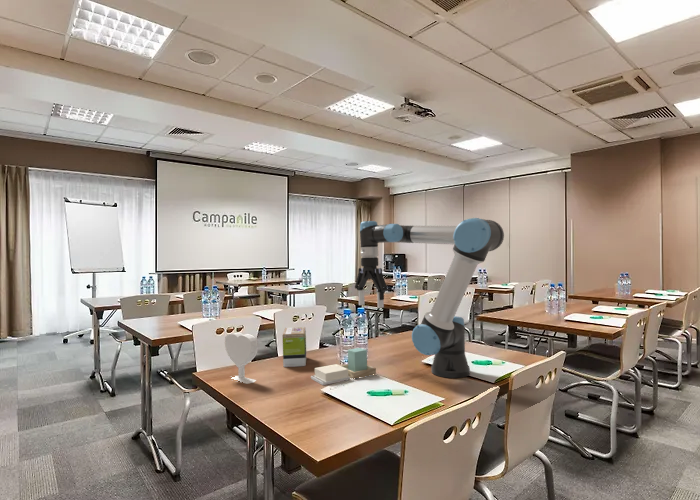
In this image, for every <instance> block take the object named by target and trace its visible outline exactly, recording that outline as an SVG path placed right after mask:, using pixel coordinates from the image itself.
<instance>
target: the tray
mask: <svg viewBox="0 0 700 500" xmlns="http://www.w3.org/2000/svg"><path fill="white" fill-rule="evenodd" d="M341 366H342V367H344V368H347V369H348V363H347V364H343V365H341ZM373 374H374V375H373ZM369 375H373V376H376V375H377V368H376V367H374V366H371V365H369V364H367V370H362V371H357V372H353V371H351V370H349V369H348V376H349V377H350V379H352V378H353V379H352V380H355V379H354V378H359V377H363V378H366V377H365V376H368V377H370V376H369ZM359 379H360V378H359Z"/></svg>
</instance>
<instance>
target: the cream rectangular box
mask: <svg viewBox="0 0 700 500" xmlns="http://www.w3.org/2000/svg"><path fill="white" fill-rule="evenodd" d="M310 379H311V380H312V381H314V382H316V383H318V384H320V385H321V386H327V385H331V384H336V383H340V381H341V382H345V381H344V380H346V381H349V380H348V379H350V380H351V378H350V377H349V376H348V369H347V368H344V367H342V365H340V364H337V363H335V364H330V365H329V364H328V365H325V366H319V367H314V374H313V375H310Z"/></svg>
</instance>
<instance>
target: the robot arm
mask: <svg viewBox="0 0 700 500" xmlns="http://www.w3.org/2000/svg"><path fill="white" fill-rule="evenodd" d="M503 229H504V228H502V226H501V225H500V224H499V223H498V222H496V221H495V220H491V219H484V218H479V217H473V218H467V219H464V220H462V221H461V222H460V223H458V224H457V225H404V224H403V225H402V224H401V225H400V223H388V224H379V225H378V222H377V221H375V220H366V221H365V220H363V221H361V222H360V226H359V235H360V239H359V240H360V257H361V258H360V265H361V267H359V268H358V271H357V272H358V274H357V278H356V281H355V285H354V289H355V290H357V297H358V306H365V303H366V302H365V285H366V284H367V282H368V280H369V279H370V280H372V281H373V283H374V286H375V287H376V289H377V292H376V300H377V301H376V302H377V309H383V308H384V307H385V305H384V304H385V302H384V300H385V292H386V291H388V287H387V284H386V281H385V277H384V275H383V269H382V268H381V267H380V268H378V266H379V258H378V256H379V244H380V243H381V244H382V243H383V244H384V243H403V244H405V243H406V244H411V243H412V244H428V245H429V244H433V245H434V244H435V245H452V246H453V247H452V251H453V254H454V256H453V258H452V261H451V264H450V265H449V267H448V270H447V273H446V274H445V277H444V279H443V281H442V284H441V286H440V289H439V291H438V293H437V296H436V298H435V301H434V303H433V305H432V307H431V309H430V311H429V312H426V313H424V316H423V318H422V321H421V323H420V324H417V325H415V327H414V328H413V330H412V332H411V341H412V344H413V346H414V348H415V349H416V350H417V351H418V352H419V353H420V354H421V355H422V354H423V355H424V356H432V355H434V357H433V360H432V364H431V368H430V369H431V371H430V372H431V373H432V374H433V375H434V376H437V377H440V378H449V379H460V378H466V377H468V376H470V375H469V374H471V369H470V365H469V364H468V360H467V359H468V358H467V357H466V350H465V349H466V345H465V344H466V343H465V337H466V336H465V335H466V333H465V332H466V331H465V328H466V326H465V320H464V317H462V316H456V314H457V312H458V310H459V307H460V305H461V303H462V301H463V298H464V296H465V294H466V291H467V290H468V287H469V285H470V283H471V281H472V278H473V276H474V275H475V274H474V273H475V272H476V269H477V267H478V265H479V264H481V263H484V262H485V261H486V258H487V256H488V253H489V252H493V251H495V250H497V249H498V248H500V247H501V246H502V244H503V241H504V238H505V233H504V230H503Z"/></svg>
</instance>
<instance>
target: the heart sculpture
mask: <svg viewBox="0 0 700 500" xmlns="http://www.w3.org/2000/svg"><path fill="white" fill-rule="evenodd" d="M258 347H259V339H257V337H256V336H255V335H252V334H250V333H245V334H244V333H242V332H235V333H230V334H227V335H226V336H225V337H224V348H225V351H226V354H227V356H228V358H229V359H230V360H231V362H232V363H233V364H234V365H235V366H236V367H237V368H238V370H237V371H238V372H237V373H238V375H234V376H235V377H232V376H231V377H232V378H231V379H234V380H238V381H240V382H239V383H242V382H243V383H242V384H247V385H248V384H253V383H255V382H256V381H257V379H253V378H249V377H246V376H245V375H246V373H245V367H246V365H248V364H249V363H250V362H252V360H254V358H255V357H256V355H257V353H258ZM238 381H237V382H238Z"/></svg>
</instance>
